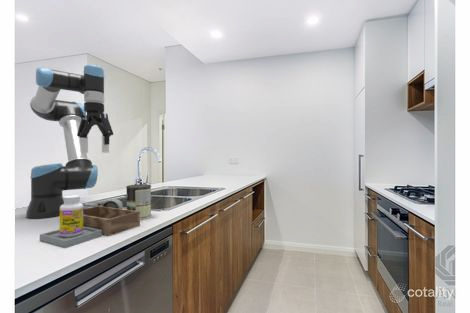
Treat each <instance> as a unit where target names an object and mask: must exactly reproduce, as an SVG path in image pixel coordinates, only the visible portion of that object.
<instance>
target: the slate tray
mask: <svg viewBox="0 0 470 313" xmlns="http://www.w3.org/2000/svg"><path fill="white" fill-rule="evenodd" d="M102 236H103V235H102V230H99V229H94V228H89V227H84V226H83V233H82V234H80V235H77V236H73V237H61V236H60V228H59V229H55V230H52V231H48V232H44V233H41V234H39V242H42V243H47V244H51V245H54V246H59V247H62V248H66V249H67V248H69V247H72V246H76V245H78V244H81V243H85V242H87V241H90V240H94V239H97V238H100V237H102Z"/></svg>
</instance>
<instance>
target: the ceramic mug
mask: <svg viewBox="0 0 470 313" xmlns="http://www.w3.org/2000/svg"><path fill="white" fill-rule="evenodd" d="M101 206H104V207H111V208H119V209H124V208H123V207H124V206H123V202H122V201H121V200H119V199H117V198H112V199H109V200H106V201H105V202H103V203H102V205H101Z"/></svg>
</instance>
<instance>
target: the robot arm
mask: <svg viewBox="0 0 470 313" xmlns="http://www.w3.org/2000/svg"><path fill="white" fill-rule="evenodd" d="M82 73H83V74H77V73H73V72H66V71H61V70H56V69H51V68H49V67H48V68H46V67H37V68H36V70H35V84H36V85H37V86H38V88H37V89H36V90H37V91H36V94H35V95H34V96H33V97H32V99H31V100H30V104H29V105H30V109H31V111H32V112H33V113H34V114H35V115H36V116H38V117H39V118H40V119H43V120H45V121H50V122H58V123H59V126H61V128H62V129H63V135H64V141H65V148H66V154H67V160H68V161H67V162H66V163H65V165H64V166H63V163H52V164H51V163H49V164H43V165H42V164H41V165H37V166H33V167H32V168H31V171H30V177H29V178H30V202H29V205H28V206H27V209H26V213H25V215H26V219H45V218H53V217H58V216H59V217H60V206H61V205H63V204H64V201H63V197H64V196H63V192H64V191H73V190H74V191H75V190H86V189H92V188H94V187H95V186H96V184H97V181H98V174H99V173H98V172H99V171H98V165H95V164H93V162H92V161H91V159H89V158H88V155H87V154H88V153H89V137H88V135H89V133H90V132H91V129H92V128H93V127H94V126H97V128H98V129H99V131H100V132H101V134H102V135H101V154H102V153H103V154H105V153H106V154H108V153H110V137H111V136H113V135H114V132H113V129H112V125H111V124H110V121H109V115H108V113H105V104H104V103H105V71H104V69H103V67H102V66H98V65H95V64H86V65H84V66H83V72H82ZM61 90H62V91H63V90H64V91H69V92H70V91H72V92H78V93H80V94H81V95H83V96H84V97H83V101H84V103H80V102H76V101H67V100H59V99H57V97H58V96H59V93H60V91H61Z"/></svg>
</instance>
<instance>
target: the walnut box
mask: <svg viewBox="0 0 470 313" xmlns="http://www.w3.org/2000/svg"><path fill="white" fill-rule="evenodd" d="M83 226H84V227H89V228H94V229H99V230H102V236H108V237H109V236H112V235H116V234H118V233H121V232H124V231H126V230H130V229H133V228H136V227H139V226H141V220H140V211H133V210H127V208H126V209H124V208H122V209H119V208H111V207H104V206H102V205H97V206H92V207H88V208H87V207H86V208H83Z"/></svg>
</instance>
